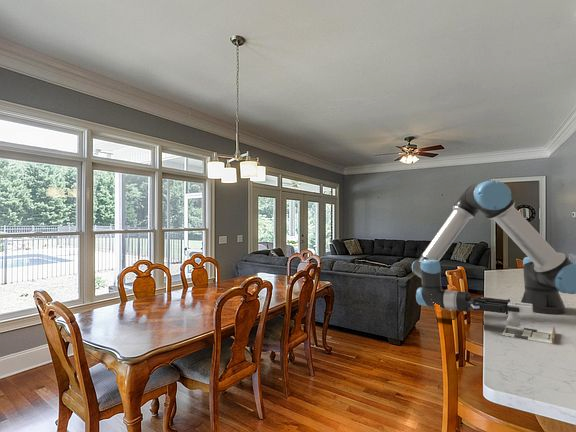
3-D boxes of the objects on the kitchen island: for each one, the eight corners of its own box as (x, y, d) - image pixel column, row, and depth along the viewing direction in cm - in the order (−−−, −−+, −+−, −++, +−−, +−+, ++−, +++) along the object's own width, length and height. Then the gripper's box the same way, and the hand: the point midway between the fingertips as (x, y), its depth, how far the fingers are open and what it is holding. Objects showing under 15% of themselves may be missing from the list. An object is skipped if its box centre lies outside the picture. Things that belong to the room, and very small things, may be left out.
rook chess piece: (515, 322, 116) (513, 300, 116) (524, 326, 112) (523, 303, 112) (503, 323, 116) (502, 301, 116) (512, 327, 111) (511, 304, 112)
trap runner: (507, 326, 120) (506, 320, 120) (555, 333, 111) (555, 327, 111) (502, 335, 111) (501, 329, 111) (554, 344, 102) (553, 337, 102)
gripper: (463, 305, 132) (534, 314, 116) (452, 315, 120) (530, 326, 104) (462, 287, 132) (533, 293, 116) (451, 295, 120) (529, 303, 104)
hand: (531, 309), depth 110 cm, fingers closed on rook chess piece, 3 cm apart
